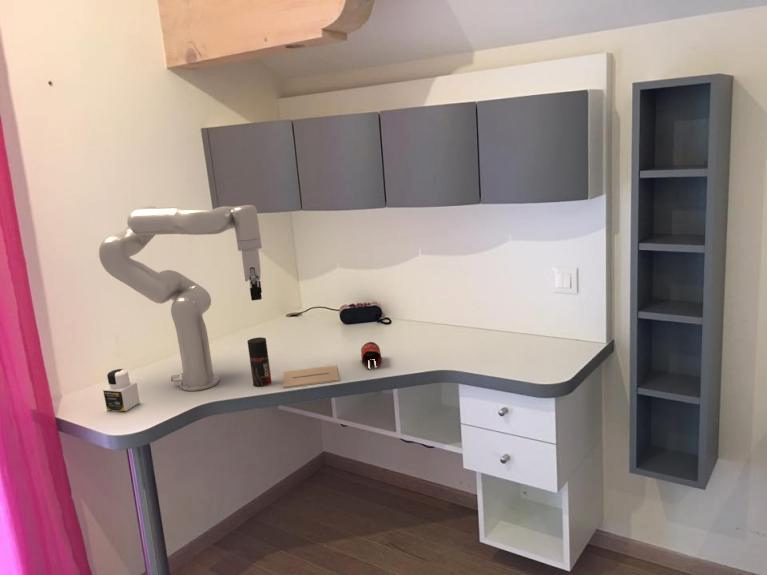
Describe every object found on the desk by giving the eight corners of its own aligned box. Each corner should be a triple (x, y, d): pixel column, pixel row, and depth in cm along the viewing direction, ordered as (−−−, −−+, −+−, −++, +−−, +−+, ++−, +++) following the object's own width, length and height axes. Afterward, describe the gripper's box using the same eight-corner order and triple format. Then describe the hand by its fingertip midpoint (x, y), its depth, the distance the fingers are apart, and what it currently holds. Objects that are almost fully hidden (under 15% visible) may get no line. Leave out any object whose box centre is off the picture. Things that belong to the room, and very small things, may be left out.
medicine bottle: (106, 410, 203) (99, 374, 200) (122, 401, 209) (116, 366, 207) (124, 412, 200) (117, 375, 198) (140, 403, 207) (134, 367, 204)
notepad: (283, 388, 209) (283, 386, 209) (283, 373, 223) (283, 371, 222) (339, 381, 211) (339, 379, 211) (336, 367, 225) (336, 365, 225)
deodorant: (265, 387, 211) (259, 343, 208) (249, 386, 213) (243, 342, 210) (274, 380, 217) (269, 337, 213) (259, 379, 219) (253, 337, 215)
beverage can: (380, 357, 231) (379, 339, 230) (383, 368, 219) (381, 350, 218) (360, 359, 231) (359, 341, 229) (361, 370, 219) (360, 352, 218)
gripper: (238, 242, 215) (245, 292, 219) (236, 249, 199) (244, 304, 202) (261, 239, 216) (268, 289, 220) (261, 246, 200) (268, 300, 203)
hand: (256, 296), depth 211 cm, fingers open, 9 cm apart
